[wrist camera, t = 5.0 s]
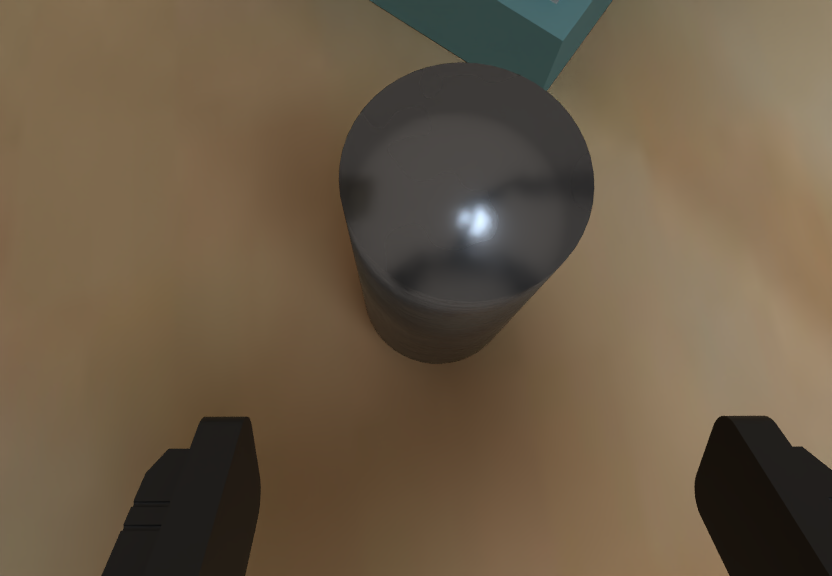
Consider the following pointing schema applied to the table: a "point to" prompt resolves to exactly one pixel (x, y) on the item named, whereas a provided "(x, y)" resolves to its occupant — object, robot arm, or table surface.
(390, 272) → the dark grey cylinder
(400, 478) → the table surface
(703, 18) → the table surface
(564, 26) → the jig
